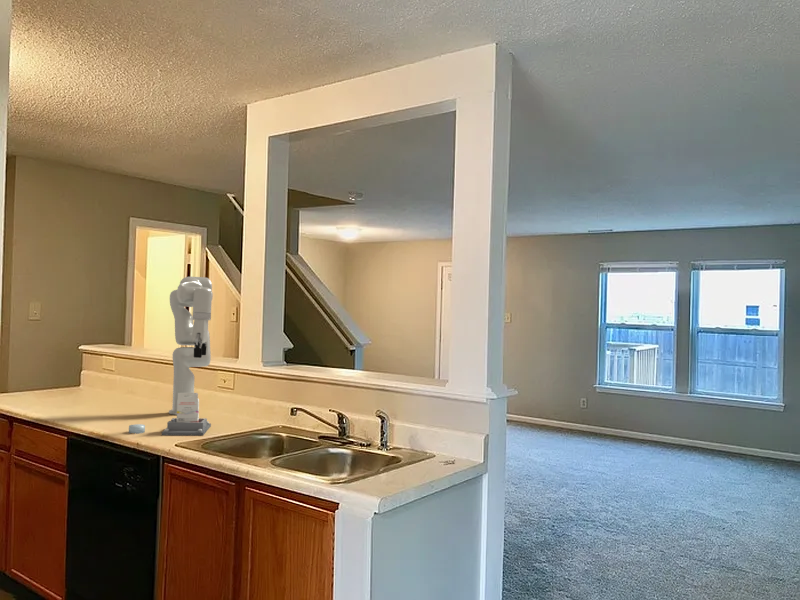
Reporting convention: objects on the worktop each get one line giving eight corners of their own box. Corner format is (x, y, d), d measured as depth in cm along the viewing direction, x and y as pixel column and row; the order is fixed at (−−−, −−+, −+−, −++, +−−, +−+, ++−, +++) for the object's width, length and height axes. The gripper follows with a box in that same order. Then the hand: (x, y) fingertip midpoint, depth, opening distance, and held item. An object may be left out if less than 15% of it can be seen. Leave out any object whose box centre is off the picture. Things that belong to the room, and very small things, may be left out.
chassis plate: (172, 425, 271) (172, 416, 271) (210, 426, 273) (211, 416, 273) (161, 435, 251) (162, 424, 251) (203, 435, 254) (203, 425, 254)
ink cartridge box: (198, 426, 266) (200, 391, 267) (197, 428, 262) (198, 392, 262) (177, 426, 265) (178, 391, 265) (175, 428, 260) (177, 392, 260)
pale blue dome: (131, 431, 258) (131, 424, 258) (146, 431, 259) (146, 424, 259) (126, 434, 252) (127, 427, 252) (142, 434, 253) (142, 427, 253)
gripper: (196, 315, 279) (195, 353, 280) (188, 317, 262) (186, 358, 262) (214, 316, 280) (212, 354, 280) (206, 317, 263) (204, 358, 263)
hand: (199, 356), depth 271 cm, fingers open, 9 cm apart
